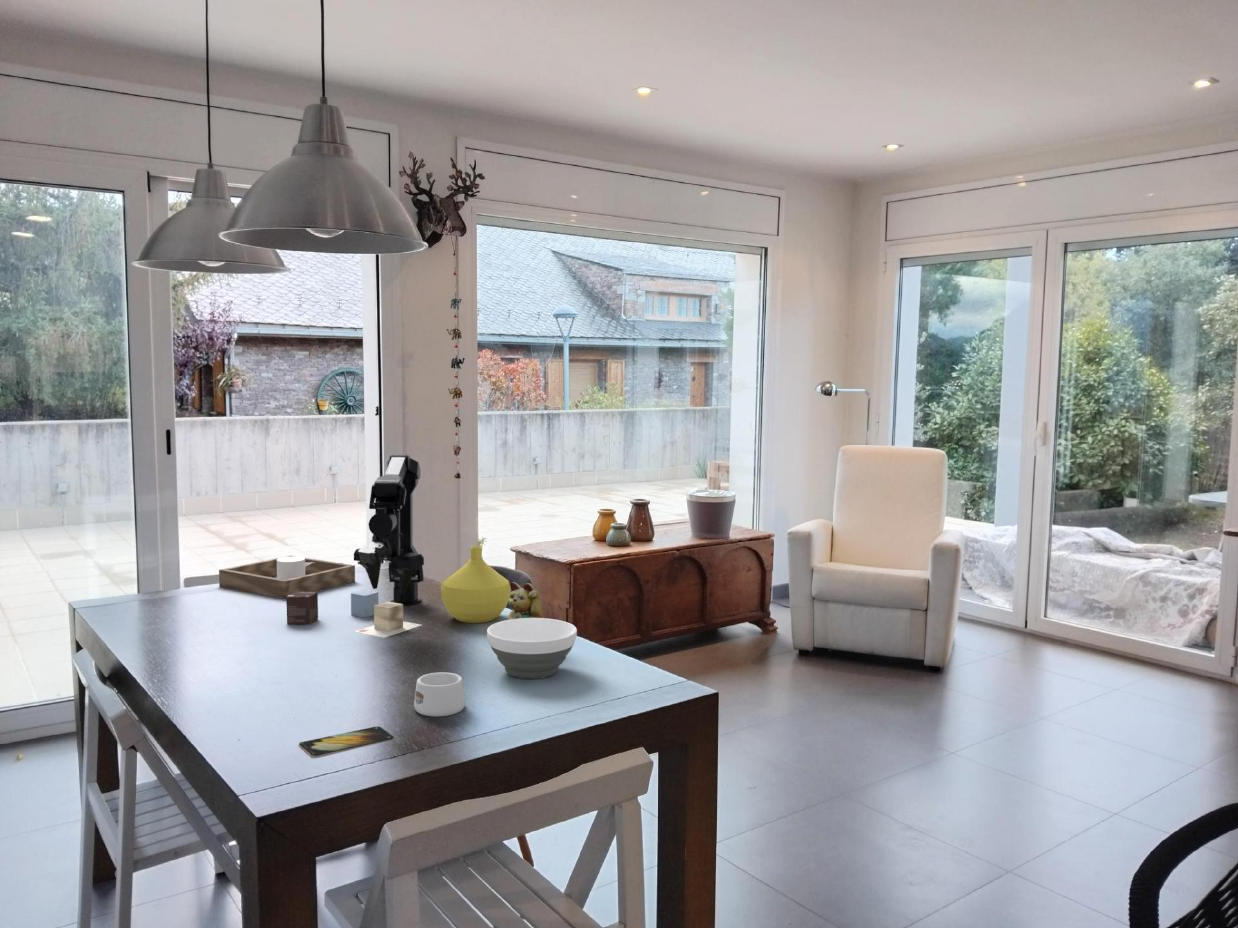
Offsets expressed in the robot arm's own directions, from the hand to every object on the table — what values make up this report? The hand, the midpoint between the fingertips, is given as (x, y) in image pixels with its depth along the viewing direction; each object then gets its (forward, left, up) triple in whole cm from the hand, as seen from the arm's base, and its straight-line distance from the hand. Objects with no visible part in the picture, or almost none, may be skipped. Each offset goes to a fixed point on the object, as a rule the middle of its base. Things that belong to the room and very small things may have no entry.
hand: (388, 591), depth 240 cm
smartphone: (+59, +45, -10) cm, 75 cm away
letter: (0, 0, -10) cm, 10 cm away
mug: (+37, +47, -10) cm, 61 cm away
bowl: (+9, +50, -10) cm, 52 cm away
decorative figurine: (-9, +36, -10) cm, 38 cm away
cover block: (0, 0, -10) cm, 10 cm away
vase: (-20, +12, -10) cm, 25 cm away
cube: (-7, -15, -10) cm, 19 cm away
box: (+7, -23, -10) cm, 26 cm away
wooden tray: (-21, -60, -10) cm, 64 cm away
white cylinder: (-22, -59, -10) cm, 64 cm away
